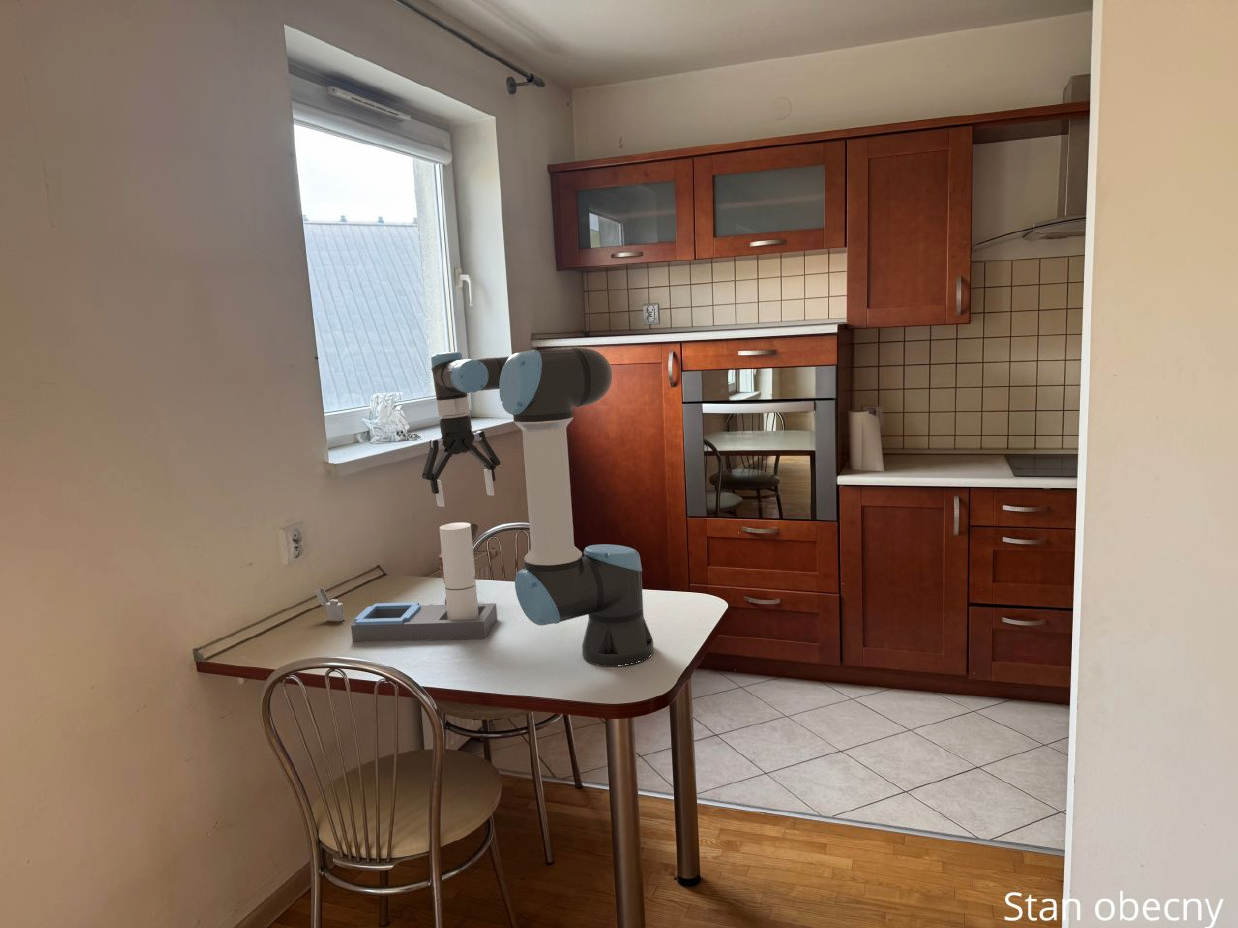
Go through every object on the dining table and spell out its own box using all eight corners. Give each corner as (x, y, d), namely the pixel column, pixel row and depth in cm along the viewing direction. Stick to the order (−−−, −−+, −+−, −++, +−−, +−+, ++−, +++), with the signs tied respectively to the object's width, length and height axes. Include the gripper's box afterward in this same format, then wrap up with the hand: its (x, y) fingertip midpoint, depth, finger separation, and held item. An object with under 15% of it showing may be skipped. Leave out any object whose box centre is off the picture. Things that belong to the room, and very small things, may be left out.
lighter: (344, 619, 211) (341, 588, 209) (340, 622, 209) (336, 591, 208) (322, 617, 214) (319, 586, 212) (318, 619, 212) (314, 588, 211)
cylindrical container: (482, 623, 202) (474, 522, 198) (475, 634, 195) (466, 529, 191) (453, 624, 203) (444, 522, 199) (445, 634, 196) (435, 530, 192)
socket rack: (497, 618, 205) (495, 599, 204) (484, 638, 192) (483, 618, 191) (373, 622, 208) (371, 603, 207) (352, 641, 195) (350, 622, 194)
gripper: (492, 408, 216) (503, 489, 220) (400, 423, 202) (413, 509, 205) (506, 408, 210) (517, 491, 214) (412, 424, 196) (425, 512, 199)
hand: (466, 500), depth 209 cm, fingers open, 13 cm apart
